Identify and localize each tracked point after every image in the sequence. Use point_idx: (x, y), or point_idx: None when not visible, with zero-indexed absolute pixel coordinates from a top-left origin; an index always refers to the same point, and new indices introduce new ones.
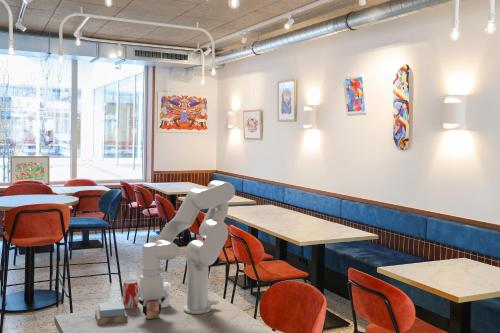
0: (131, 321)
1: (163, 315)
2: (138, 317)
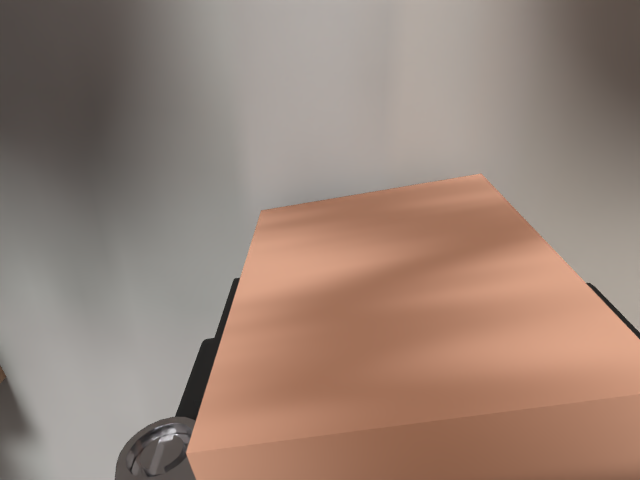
0: (71, 385)
1: (588, 192)
2: (149, 235)
